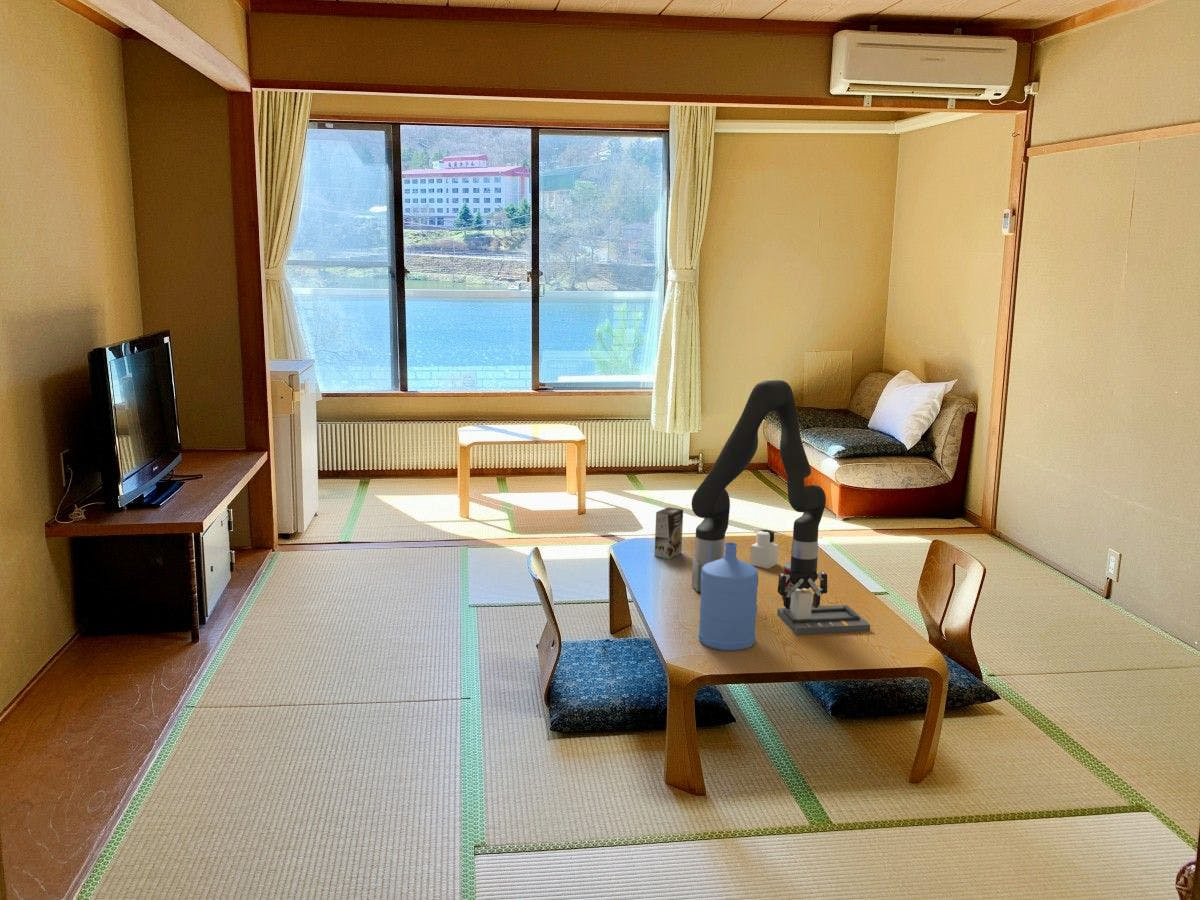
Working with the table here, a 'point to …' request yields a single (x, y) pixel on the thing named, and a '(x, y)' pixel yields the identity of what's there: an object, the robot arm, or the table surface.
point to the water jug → (728, 602)
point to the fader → (801, 604)
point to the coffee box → (668, 532)
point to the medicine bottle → (764, 550)
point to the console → (825, 621)
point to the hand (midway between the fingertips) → (801, 607)
